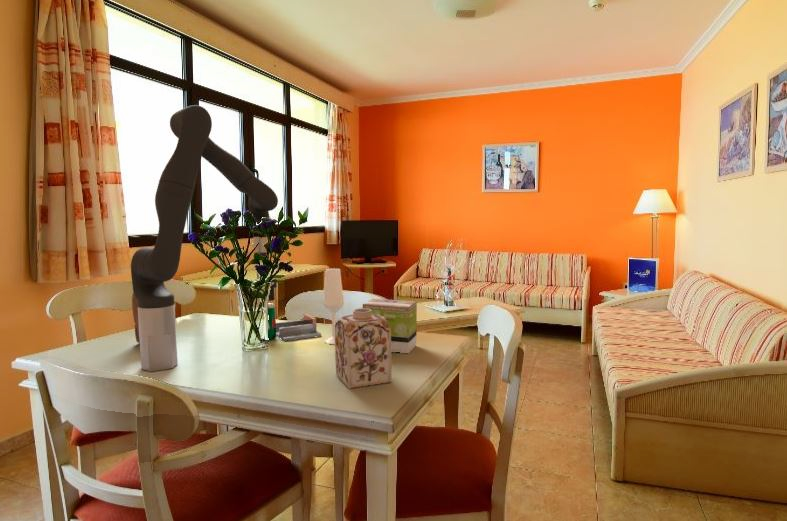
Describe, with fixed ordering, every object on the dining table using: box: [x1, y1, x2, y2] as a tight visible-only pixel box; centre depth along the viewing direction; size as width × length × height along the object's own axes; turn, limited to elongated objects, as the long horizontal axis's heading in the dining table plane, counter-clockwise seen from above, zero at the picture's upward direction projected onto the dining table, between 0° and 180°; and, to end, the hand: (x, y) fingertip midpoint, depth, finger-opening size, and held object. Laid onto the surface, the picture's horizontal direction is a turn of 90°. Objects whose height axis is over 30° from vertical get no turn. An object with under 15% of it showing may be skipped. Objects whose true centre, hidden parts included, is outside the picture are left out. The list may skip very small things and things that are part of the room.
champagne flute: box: [322, 268, 345, 343], centre depth 162 cm, size 7×7×24 cm
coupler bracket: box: [276, 313, 322, 342], centre depth 175 cm, size 18×13×5 cm
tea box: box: [362, 298, 418, 354], centre depth 155 cm, size 15×10×15 cm
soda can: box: [267, 302, 277, 342], centre depth 167 cm, size 5×5×12 cm
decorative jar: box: [334, 307, 393, 389], centre depth 127 cm, size 12×12×18 cm
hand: (267, 298), depth 166 cm, fingers open, 8 cm apart
